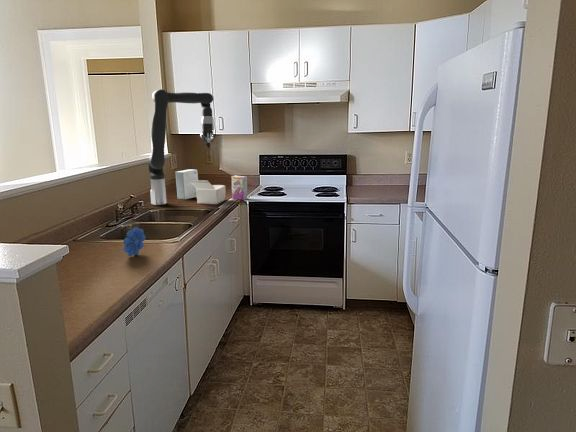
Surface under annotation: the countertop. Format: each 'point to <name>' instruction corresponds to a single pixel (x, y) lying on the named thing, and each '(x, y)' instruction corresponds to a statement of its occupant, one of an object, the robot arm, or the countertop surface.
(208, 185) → the flap
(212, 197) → the carton
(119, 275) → the countertop surface
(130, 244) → the grapes
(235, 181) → the candy bar box
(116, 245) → the countertop surface
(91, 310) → the countertop surface
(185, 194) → the hard drive box
